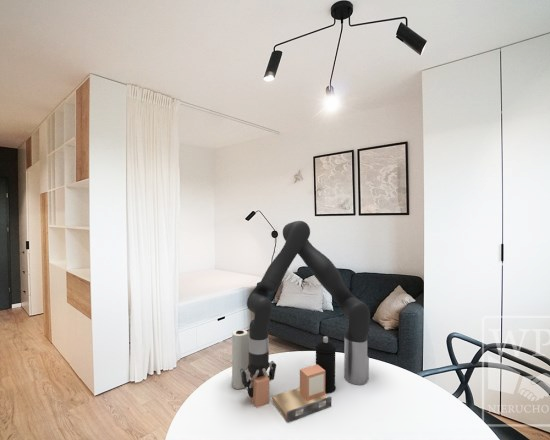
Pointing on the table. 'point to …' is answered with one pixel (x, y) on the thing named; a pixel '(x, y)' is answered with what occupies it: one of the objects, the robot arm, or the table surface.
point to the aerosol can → (327, 362)
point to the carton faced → (312, 382)
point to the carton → (260, 391)
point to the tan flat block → (298, 404)
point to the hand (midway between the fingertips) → (258, 393)
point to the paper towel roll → (239, 356)
